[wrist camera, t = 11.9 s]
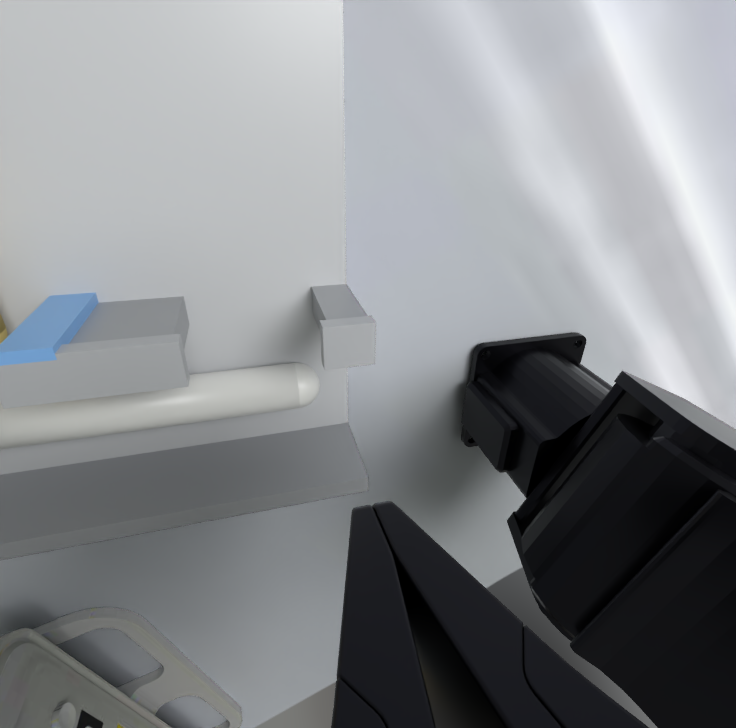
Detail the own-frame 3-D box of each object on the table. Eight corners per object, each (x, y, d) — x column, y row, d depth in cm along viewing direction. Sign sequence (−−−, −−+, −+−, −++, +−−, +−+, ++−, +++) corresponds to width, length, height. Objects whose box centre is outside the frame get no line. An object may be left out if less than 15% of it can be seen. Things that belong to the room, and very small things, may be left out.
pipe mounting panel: (338, -35, 14) (385, -102, 10) (345, 428, 23) (371, 501, 19) (-507, -115, 10) (-1119, -306, 5) (-90, 494, 19) (-188, 609, 14)
